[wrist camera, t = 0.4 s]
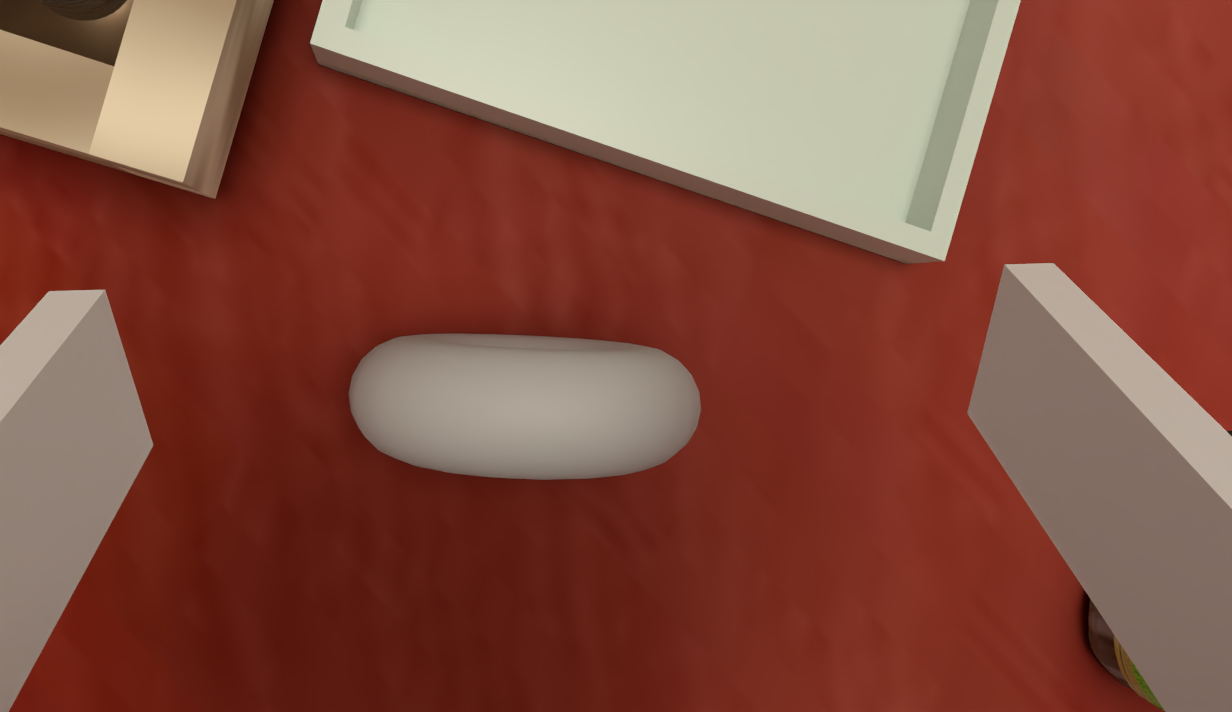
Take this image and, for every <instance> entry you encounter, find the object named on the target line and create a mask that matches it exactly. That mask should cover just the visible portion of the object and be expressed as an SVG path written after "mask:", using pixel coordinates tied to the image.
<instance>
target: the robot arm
mask: <svg viewBox="0 0 1232 712" xmlns="http://www.w3.org/2000/svg"><path fill="white" fill-rule="evenodd" d="M967 414H968V415H969V417H970V418H971V420H972V421H973V423H974V424H975V426H976V427H977V429H978V430H979V432H980V433H981V435H982V436H983V438H984V439H985V441H986V442H987V444H988V445H989V447H990V448H991V450H992V451H993V453H994V454H995V456H996V457H997V459H998V460H999V462H1000V463H1001V465H1002V466H1003V468H1004V469H1005V471H1006V472H1007V474H1008V475H1009V477H1010V478H1011V480H1012V482H1013V483H1014V485H1015V486H1016V488H1017V489H1018V491H1019V492H1020V494H1021V495H1022V497H1023V498H1024V500H1025V501H1026V503H1027V504H1028V506H1029V507H1030V509H1031V510H1032V512H1033V513H1034V515H1035V516H1036V518H1037V519H1038V521H1039V522H1040V524H1041V525H1042V527H1043V528H1044V530H1045V531H1046V533H1047V534H1048V536H1049V537H1050V539H1051V540H1052V542H1053V543H1054V545H1055V546H1056V548H1057V549H1058V551H1059V552H1060V554H1061V555H1062V557H1063V558H1064V560H1065V561H1066V563H1067V564H1068V566H1069V567H1070V569H1071V570H1072V572H1073V573H1074V575H1075V576H1076V578H1077V579H1078V581H1079V582H1080V584H1081V585H1082V587H1083V588H1084V590H1085V591H1086V593H1087V594H1088V596H1089V597H1090V599H1091V600H1092V602H1093V603H1094V605H1095V607H1096V608H1097V610H1098V611H1099V613H1100V614H1101V616H1102V617H1103V619H1104V620H1105V622H1106V623H1107V625H1108V626H1109V628H1110V629H1111V631H1112V632H1113V634H1114V635H1115V637H1116V638H1117V640H1118V641H1119V643H1120V644H1121V646H1122V647H1123V649H1124V650H1125V652H1126V653H1127V655H1128V656H1129V658H1130V659H1131V661H1132V662H1133V664H1134V665H1135V667H1136V668H1137V670H1138V671H1139V673H1140V674H1141V676H1142V677H1143V679H1144V680H1145V682H1146V683H1147V685H1148V686H1149V688H1150V689H1151V691H1152V692H1153V694H1154V695H1155V697H1156V698H1157V700H1158V701H1159V703H1160V704H1161V706H1162V707H1163V709H1164V710H1165V712H1232V431H1226V430H1225V429H1223V428H1222V427H1221V426H1220V425H1219V424H1218V423H1217V422H1216V421H1215V420H1214V419H1213V418H1212V417H1211V416H1210V415H1209V414H1208V413H1207V412H1206V411H1205V410H1204V409H1203V408H1202V407H1201V406H1200V405H1199V404H1198V403H1197V402H1196V401H1195V400H1194V399H1193V398H1192V397H1191V396H1190V395H1189V394H1187V393H1186V392H1185V391H1184V390H1183V389H1182V388H1181V387H1180V386H1179V385H1178V384H1177V383H1176V382H1175V381H1174V380H1173V379H1172V378H1171V377H1170V376H1169V375H1168V374H1167V373H1166V372H1165V371H1164V370H1163V369H1162V368H1161V367H1160V366H1159V365H1158V364H1157V363H1156V362H1155V361H1154V360H1152V359H1151V358H1150V357H1149V356H1148V355H1147V354H1146V353H1145V352H1144V351H1143V350H1142V349H1141V348H1140V347H1139V346H1138V345H1137V344H1136V343H1135V342H1134V341H1133V340H1132V339H1131V338H1130V337H1129V336H1128V335H1127V334H1126V333H1125V332H1124V331H1123V330H1122V329H1121V328H1120V327H1119V326H1118V325H1116V324H1115V323H1114V322H1113V321H1112V320H1111V319H1110V318H1109V317H1108V316H1107V315H1106V314H1105V313H1104V312H1103V311H1102V310H1101V309H1100V308H1099V307H1098V306H1097V305H1096V304H1095V303H1094V302H1093V301H1092V300H1091V299H1090V298H1089V297H1088V296H1087V295H1086V294H1085V293H1084V292H1083V291H1082V290H1080V289H1079V288H1078V287H1077V286H1076V285H1075V284H1074V283H1073V282H1072V281H1071V280H1070V279H1069V278H1068V277H1067V276H1066V275H1065V274H1064V273H1063V272H1062V271H1061V270H1060V269H1059V268H1058V267H1057V266H1056V265H1055V264H1054V263H1041V264H1006V265H1004V268H1003V272H1002V276H1001V280H1000V284H999V288H998V292H997V296H996V300H995V304H994V308H993V312H992V316H991V320H990V324H989V328H988V333H987V337H986V341H985V345H984V349H983V353H982V357H981V361H980V365H979V369H978V373H977V377H976V381H975V385H974V389H973V393H972V397H971V401H970V405H969V409H968V413H967ZM152 447H153V442H152V439H151V436H150V433H149V430H148V426H147V423H146V420H145V417H144V413H143V410H142V407H141V404H140V401H139V397H138V394H137V391H136V388H135V384H134V381H133V378H132V375H131V372H130V368H129V365H128V362H127V359H126V355H125V352H124V349H123V346H122V343H121V339H120V336H119V333H118V330H117V326H116V323H115V320H114V317H113V314H112V310H111V307H110V304H109V301H108V297H107V294H106V291H105V290H77V291H49V292H48V293H47V294H46V295H45V296H44V297H43V298H42V300H41V301H40V302H39V303H38V304H37V305H36V306H35V307H34V309H33V310H32V311H31V312H30V313H29V314H28V315H27V316H26V317H25V319H24V320H23V321H22V322H21V323H20V324H19V325H18V326H17V328H16V329H15V330H14V331H13V332H12V333H11V334H10V335H9V337H8V338H7V339H6V340H5V341H4V342H3V343H2V344H1V345H0V712H9V710H10V708H11V706H12V705H13V703H14V701H15V699H16V697H17V695H18V694H19V692H20V690H21V688H22V686H23V684H24V682H25V681H26V679H27V677H28V675H29V673H30V671H31V670H32V668H33V666H34V664H35V662H36V660H37V659H38V657H39V655H40V653H41V651H42V649H43V648H44V646H45V644H46V642H47V640H48V638H49V636H50V635H51V633H52V631H53V629H54V627H55V625H56V624H57V622H58V620H59V618H60V616H61V614H62V613H63V611H64V609H65V607H66V605H67V603H68V602H69V600H70V598H71V596H72V594H73V592H74V590H75V589H76V587H77V585H78V583H79V581H80V579H81V578H82V576H83V574H84V572H85V570H86V568H87V567H88V565H89V563H90V561H91V559H92V557H93V555H94V554H95V552H96V550H97V548H98V546H99V544H100V543H101V541H102V539H103V537H104V535H105V533H106V532H107V530H108V528H109V526H110V524H111V522H112V521H113V519H114V517H115V515H116V513H117V511H118V509H119V508H120V506H121V504H122V502H123V500H124V498H125V497H126V495H127V493H128V491H129V489H130V487H131V486H132V484H133V482H134V480H135V478H136V476H137V474H138V473H139V471H140V469H141V467H142V465H143V463H144V462H145V460H146V458H147V456H148V454H149V452H150V451H151V449H152Z"/></svg>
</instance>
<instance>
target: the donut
mask: <svg viewBox="0 0 1232 712" xmlns="http://www.w3.org/2000/svg"><path fill="white" fill-rule="evenodd" d="M349 401H350V409H351V413H352V415H353V417H354V419H355V421H356V423H357V425H358V428H359V429H360V431H361V432H362V434H363V435H364V436H365V438H366V439H367V440H368V441H369V442H370V443H371V444H372V445H373V446H374V447H375V448H376V449H377V450H378V451H381V452H383V453H385V454H387V455H389V456H391V457H393V458H395V459H398V460H400V461H403V462H406V463H409V464H411V465H414V466H417V467H422V468H428V469H433V470H438V471H443V472H448V473H455V474H465V475H474V476H484V477H493V478H514V479H539V480H550V479H589V478H599V477H609V476H619V475H626V474H630V473H634V472H638V471H642V470H647V469H650V468H652V467H655V466H657V465H660V464H662V463H664V462H666V461H667V460H668V459H670V458H671V457H672V456H674V455H675V454H676V453H677V452H678V451H679V450H681V449H682V448H683V447H684V446H685V445H686V444H687V443H688V442H689V440H690V439H691V437H692V435H693V434H694V432H695V430H696V428H697V425H698V421H699V416H700V412H701V406H700V396H699V390H698V388H697V386H696V384H695V381H694V379H693V377H692V375H691V374H690V372H689V371H688V370H687V369H686V368H685V367H684V366H683V365H682V364H681V362H680V361H678V360H677V359H675V358H674V357H672V356H670V355H668V354H667V353H665V352H663V351H662V350H660V349H656V348H651V347H646V346H641V345H635V344H630V343H621V342H613V341H603V340H591V339H579V338H563V337H547V336H527V335H502V334H422V335H411V336H401V337H397V338H394V339H391V340H389V341H387V342H384V343H382V344H380V345H378V346H376V347H375V348H373V349H372V350H371V351H370V352H369V353H368V354H367V355H366V356H364V357H363V358H362V359H361V361H360V363H359V365H358V366H357V368H356V370H355V371H354V373H353V375H352V379H351V384H350V389H349Z"/></svg>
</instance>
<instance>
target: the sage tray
mask: <svg viewBox="0 0 1232 712" xmlns="http://www.w3.org/2000/svg"><path fill="white" fill-rule="evenodd" d="M1020 1H1021V0H323V1H322V4H321V8H320V11H319V14H318V18H317V21H316V25H315V28H314V31H313V35H312V38H311V42H310V45H311V47H312V50H313V52H314V55H315V57H316V60H317V62H318V64H319V65H322V66H325V67H327V68H330V69H333V70H336V71H339V72H342V73H345V74H348V75H351V76H354V77H357V78H360V79H363V80H366V81H369V82H372V83H375V84H378V85H381V86H384V87H386V88H389V89H392V90H395V91H398V92H401V93H404V94H407V95H410V96H413V97H416V98H419V99H422V100H425V101H428V102H431V103H434V104H437V105H440V106H442V107H445V108H448V109H451V110H454V111H457V112H460V113H463V114H466V115H469V116H472V117H475V118H478V119H481V120H484V121H487V122H490V123H493V124H496V125H498V126H501V127H504V128H507V129H510V130H513V131H516V132H519V133H522V134H525V135H528V136H531V137H534V138H537V139H540V140H543V141H546V142H549V143H552V144H554V145H557V146H560V147H563V148H566V149H569V150H572V151H575V152H578V153H581V154H584V155H587V156H590V157H593V158H596V159H599V160H602V161H605V162H608V163H611V164H613V165H616V166H619V167H622V168H625V169H628V170H631V171H634V172H637V173H640V174H643V175H646V176H649V177H652V178H655V179H658V180H661V181H664V182H667V183H669V184H672V185H675V186H678V187H681V188H684V189H687V190H690V191H693V192H696V193H699V194H702V195H705V196H708V197H711V198H714V199H717V200H720V201H723V202H725V203H728V204H731V205H734V206H737V207H740V208H743V209H746V210H749V211H752V212H755V213H758V214H761V215H764V216H767V217H770V218H773V219H776V220H779V221H782V222H784V223H787V224H790V225H793V226H796V227H799V228H802V229H805V230H808V231H811V232H814V233H817V234H820V235H823V236H826V237H829V238H832V239H835V240H838V241H840V242H843V243H846V244H849V245H852V246H855V247H858V248H861V249H864V250H867V251H870V252H873V253H876V254H879V255H882V256H885V257H888V258H891V259H894V260H896V261H899V262H902V263H905V264H911V263H926V262H940V261H945V258H946V255H947V251H948V248H949V244H950V241H951V238H952V234H953V231H954V227H955V224H956V220H957V217H958V214H959V210H960V207H961V203H962V200H963V196H964V193H965V190H966V186H967V183H968V179H969V176H970V172H971V169H972V166H973V162H974V159H975V155H976V152H977V149H978V145H979V142H980V138H981V135H982V131H983V128H984V125H985V121H986V118H987V114H988V111H989V107H990V104H991V101H992V97H993V94H994V90H995V87H996V83H997V80H998V77H999V73H1000V70H1001V66H1002V63H1003V59H1004V56H1005V53H1006V49H1007V46H1008V42H1009V39H1010V35H1011V32H1012V29H1013V25H1014V22H1015V18H1016V15H1017V12H1018V8H1019V5H1020Z"/></svg>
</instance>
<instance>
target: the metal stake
mask: <svg viewBox="0 0 1232 712" xmlns="http://www.w3.org/2000/svg"><path fill="white" fill-rule="evenodd" d="M133 1H134V0H0V30H3V31H6V32H9V33H12V34H15V35H18V36H22V37H25V38H28V39H31V40H34V41H37V42H40V43H43V44H46V45H49V46H52V47H56V48H59V49H62V50H65V51H68V52H71V53H74V54H77V55H80V56H83V57H86V58H89V59H93V60H96V61H99V62H102V63H105V64H108V65H111V66H115V63H116V59H117V56H118V52H119V49H120V46H121V42H122V39H123V35H124V32H125V29H126V25H127V22H128V18H129V15H130V12H131V8H132V5H133Z"/></svg>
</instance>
